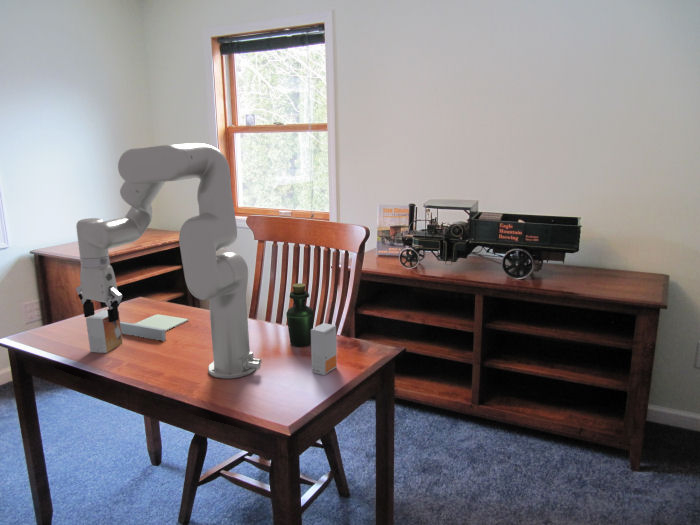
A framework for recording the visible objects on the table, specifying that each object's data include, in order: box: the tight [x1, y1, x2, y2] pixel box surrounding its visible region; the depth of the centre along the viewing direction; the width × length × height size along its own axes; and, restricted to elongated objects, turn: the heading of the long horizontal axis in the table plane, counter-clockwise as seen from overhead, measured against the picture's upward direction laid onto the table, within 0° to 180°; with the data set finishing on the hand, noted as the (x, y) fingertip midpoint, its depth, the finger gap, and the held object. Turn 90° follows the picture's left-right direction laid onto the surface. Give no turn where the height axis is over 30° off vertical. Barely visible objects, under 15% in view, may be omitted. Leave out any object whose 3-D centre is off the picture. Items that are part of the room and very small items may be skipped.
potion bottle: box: [286, 282, 315, 348], centre depth 163 cm, size 8×8×18 cm
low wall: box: [120, 320, 167, 342], centre depth 173 cm, size 24×1×4 cm, turn 65°
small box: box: [85, 309, 123, 354], centre depth 163 cm, size 8×6×10 cm
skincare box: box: [310, 322, 337, 376], centre depth 145 cm, size 6×4×12 cm
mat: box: [134, 313, 190, 332], centre depth 182 cm, size 14×14×1 cm
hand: (101, 318), depth 162 cm, fingers open, 9 cm apart
